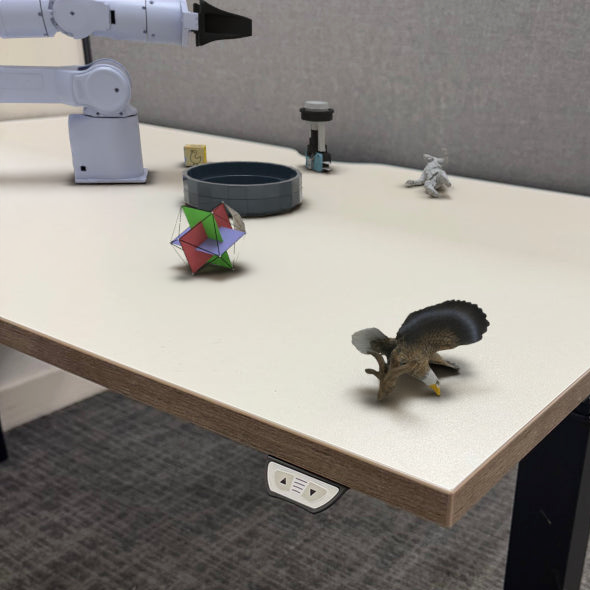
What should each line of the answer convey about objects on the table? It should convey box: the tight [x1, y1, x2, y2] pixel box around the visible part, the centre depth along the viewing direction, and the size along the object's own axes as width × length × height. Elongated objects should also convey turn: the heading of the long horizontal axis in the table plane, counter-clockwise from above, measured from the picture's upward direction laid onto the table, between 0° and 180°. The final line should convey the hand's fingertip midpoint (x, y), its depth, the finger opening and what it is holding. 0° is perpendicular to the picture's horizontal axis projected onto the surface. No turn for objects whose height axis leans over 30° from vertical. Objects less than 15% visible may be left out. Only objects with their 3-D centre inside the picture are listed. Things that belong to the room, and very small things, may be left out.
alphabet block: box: [183, 143, 208, 167], centre depth 124 cm, size 3×3×3 cm
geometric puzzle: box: [169, 202, 248, 275], centre depth 79 cm, size 7×7×8 cm
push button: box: [298, 100, 335, 173], centre depth 123 cm, size 7×5×10 cm
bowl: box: [181, 160, 303, 218], centre depth 103 cm, size 15×15×4 cm
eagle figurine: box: [351, 299, 491, 402], centre depth 57 cm, size 8×7×9 cm
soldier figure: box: [404, 147, 452, 198], centre depth 116 cm, size 8×5×12 cm
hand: (248, 28), depth 110 cm, fingers open, 7 cm apart
